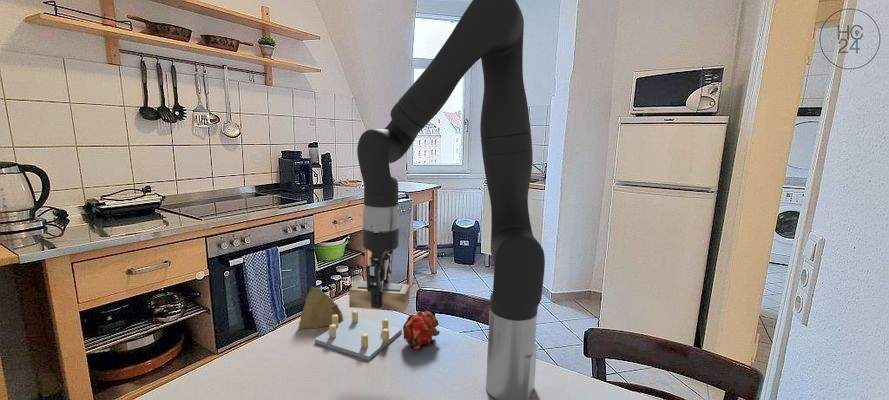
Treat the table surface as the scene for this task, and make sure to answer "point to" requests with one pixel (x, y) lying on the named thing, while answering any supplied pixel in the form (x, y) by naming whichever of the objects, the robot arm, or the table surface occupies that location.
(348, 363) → the table surface
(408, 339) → the dragon fruit
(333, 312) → the rock
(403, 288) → the frame
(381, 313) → the table surface
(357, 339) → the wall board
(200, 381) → the table surface
